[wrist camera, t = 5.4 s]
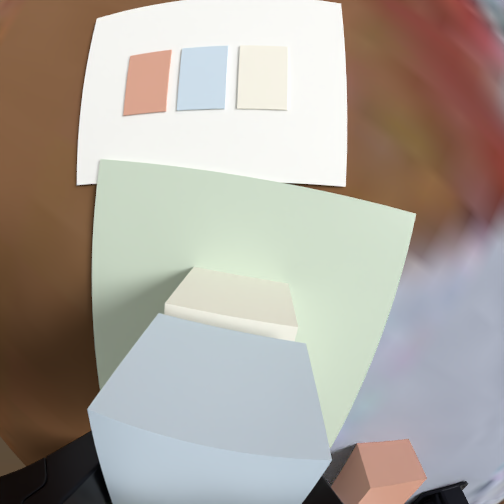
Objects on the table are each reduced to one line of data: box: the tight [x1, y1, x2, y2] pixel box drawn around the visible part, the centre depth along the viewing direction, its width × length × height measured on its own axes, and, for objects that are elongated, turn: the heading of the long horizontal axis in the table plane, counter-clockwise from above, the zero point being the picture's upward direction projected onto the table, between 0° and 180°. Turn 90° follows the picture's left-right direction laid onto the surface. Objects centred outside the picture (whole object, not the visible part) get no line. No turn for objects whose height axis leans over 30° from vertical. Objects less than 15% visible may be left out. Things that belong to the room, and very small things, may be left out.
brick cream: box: [164, 267, 298, 342], centre depth 11 cm, size 6×4×4 cm, turn 170°
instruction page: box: [77, 0, 347, 187], centre depth 11 cm, size 9×12×1 cm
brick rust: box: [331, 439, 427, 504], centre depth 14 cm, size 6×4×4 cm, turn 172°
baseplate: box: [92, 159, 416, 448], centre depth 13 cm, size 14×14×1 cm
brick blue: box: [87, 313, 332, 504], centre depth 6 cm, size 6×4×4 cm, turn 169°
